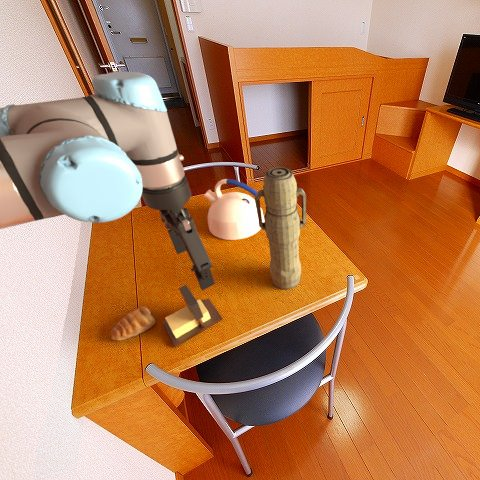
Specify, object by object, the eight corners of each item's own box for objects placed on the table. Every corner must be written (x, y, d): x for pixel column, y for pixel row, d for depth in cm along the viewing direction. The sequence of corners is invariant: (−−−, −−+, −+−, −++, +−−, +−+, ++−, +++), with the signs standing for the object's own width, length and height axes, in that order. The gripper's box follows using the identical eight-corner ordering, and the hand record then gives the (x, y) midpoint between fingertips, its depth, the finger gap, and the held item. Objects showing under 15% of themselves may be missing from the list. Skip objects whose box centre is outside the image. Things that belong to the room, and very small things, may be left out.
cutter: (199, 328, 68) (189, 306, 62) (188, 310, 72) (178, 288, 66) (206, 324, 69) (197, 302, 63) (195, 306, 73) (186, 284, 67)
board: (175, 347, 65) (174, 345, 65) (164, 324, 70) (162, 322, 69) (222, 319, 72) (221, 317, 71) (209, 300, 76) (208, 298, 75)
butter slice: (203, 322, 69) (200, 315, 68) (195, 310, 72) (192, 303, 70) (210, 318, 71) (208, 311, 69) (202, 305, 73) (199, 299, 71)
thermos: (264, 271, 85) (249, 165, 62) (301, 264, 88) (300, 161, 65) (268, 293, 78) (253, 184, 56) (308, 285, 81) (309, 178, 58)
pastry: (119, 349, 64) (111, 341, 62) (108, 332, 68) (100, 323, 65) (159, 323, 70) (153, 314, 68) (147, 308, 73) (141, 299, 71)
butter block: (176, 338, 66) (172, 331, 64) (168, 324, 69) (164, 317, 67) (200, 324, 69) (197, 317, 67) (192, 311, 72) (189, 304, 70)
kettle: (223, 204, 112) (214, 163, 100) (272, 212, 109) (268, 170, 97) (197, 235, 97) (182, 190, 85) (252, 244, 94) (245, 199, 82)
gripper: (216, 204, 41) (238, 294, 55) (161, 150, 55) (189, 232, 69) (163, 222, 37) (201, 314, 51) (118, 160, 51) (158, 245, 65)
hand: (194, 267), depth 60 cm, fingers open, 13 cm apart
